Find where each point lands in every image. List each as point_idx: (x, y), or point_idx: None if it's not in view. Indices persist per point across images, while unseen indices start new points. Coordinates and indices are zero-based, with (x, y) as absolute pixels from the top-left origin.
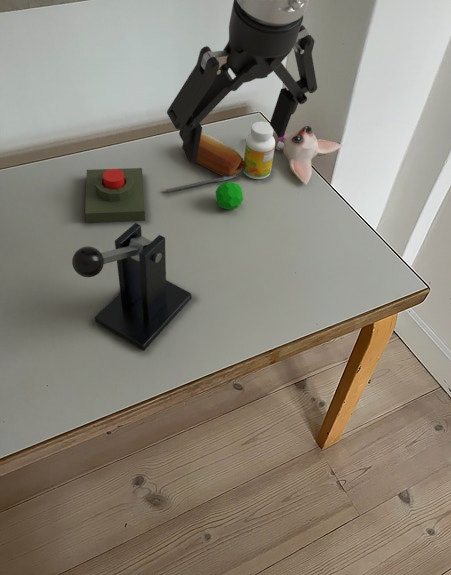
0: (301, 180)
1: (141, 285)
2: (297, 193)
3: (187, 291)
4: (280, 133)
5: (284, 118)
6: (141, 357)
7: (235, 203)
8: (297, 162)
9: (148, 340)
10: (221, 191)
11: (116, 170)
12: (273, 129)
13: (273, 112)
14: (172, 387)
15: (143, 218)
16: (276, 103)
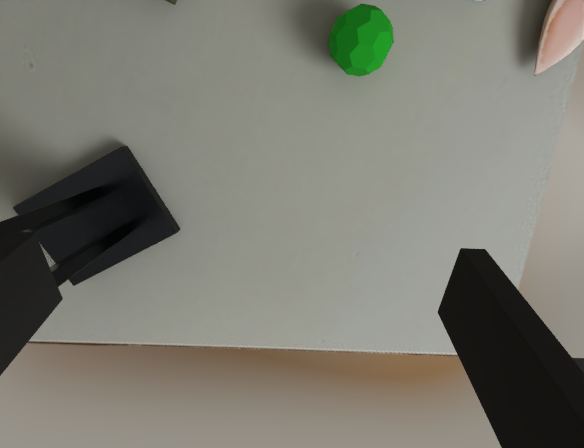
0: (537, 58)
1: None
2: (502, 81)
3: (172, 225)
4: (448, 331)
5: (489, 409)
6: (74, 287)
7: (357, 73)
8: (576, 1)
9: (83, 280)
10: (341, 37)
11: None
12: (451, 276)
13: (497, 301)
14: (99, 341)
15: (169, 1)
16: (537, 360)
